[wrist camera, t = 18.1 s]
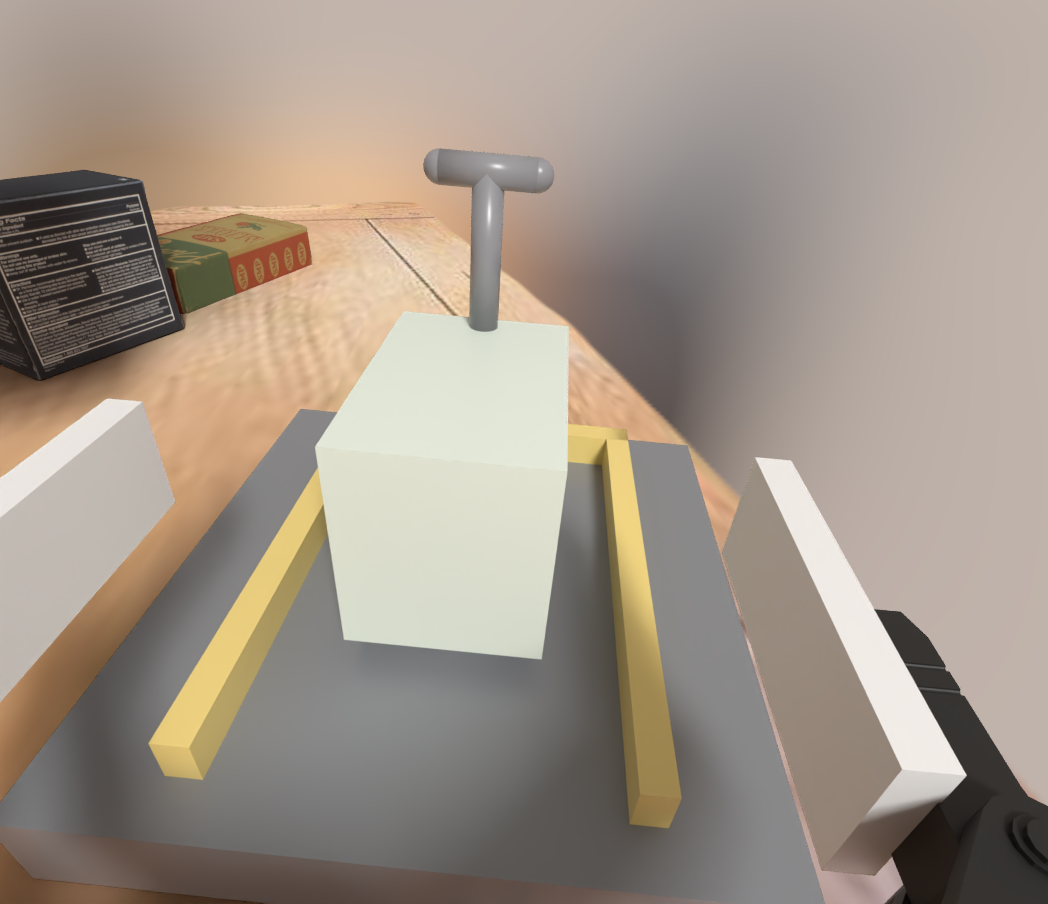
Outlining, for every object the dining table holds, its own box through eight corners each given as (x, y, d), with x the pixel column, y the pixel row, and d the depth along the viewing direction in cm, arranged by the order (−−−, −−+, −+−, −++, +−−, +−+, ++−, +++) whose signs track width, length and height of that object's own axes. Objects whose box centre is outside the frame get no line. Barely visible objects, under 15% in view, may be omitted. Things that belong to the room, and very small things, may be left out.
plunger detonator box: (347, 660, 19) (277, 199, 11) (411, 486, 26) (396, 141, 18) (538, 679, 18) (600, 228, 11) (548, 499, 26) (588, 158, 18)
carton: (314, 268, 60) (309, 224, 58) (186, 320, 47) (172, 266, 45) (247, 253, 62) (239, 210, 60) (107, 299, 49) (90, 246, 47)
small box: (131, 310, 47) (86, 165, 41) (188, 329, 45) (149, 179, 39) (-22, 357, 39) (-105, 185, 33) (39, 383, 37) (-38, 204, 31)
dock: (32, 878, 16) (-46, 792, 13) (308, 456, 32) (296, 383, 30) (787, 959, 16) (851, 885, 13) (674, 491, 32) (694, 420, 30)
